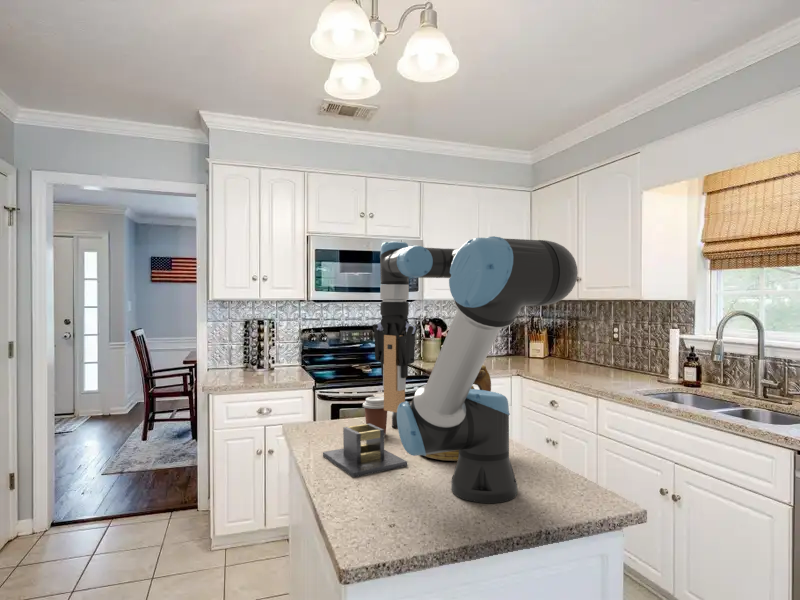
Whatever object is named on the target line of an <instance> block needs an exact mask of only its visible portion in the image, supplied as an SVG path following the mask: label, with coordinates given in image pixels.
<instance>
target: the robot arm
mask: <svg viewBox="0 0 800 600" xmlns="http://www.w3.org/2000/svg"><path fill="white" fill-rule="evenodd" d="M379 258H380V262H379V263H380V265H379V266H380V268H379V269H380V291H379V292H380V293H379V294H380V295H379V298H380V300H382V301H380V304H379V305H380V306H379V307H380V308H379V309H380V311H379V312H380V316H381V319H380V322H378V323H373V324H372V329H373V332H374V359H375V361H378V362H380V364H381V365H380V368H381V372H380V373H381V375H382V378H383V379H382V389H384V335H394V336H397V340H398V356H399V362H400V364H398V365H399V366H397V391H401V390H405V391H406V389H407V387H406V381H407V380H406V379H407V378H408V376H409V375H408V374H409V373H408V372H409V371H408V370H409V369H408V368H409V365H411V364H414V363H415V359H416V358H415V357H416V356H415V355H416V354H415V352H416V335H417V334H416V333H417V331H418V326H417V325H413V324H411V323H410V322H409V319H408V316H409V313H410V312H409V311H410V307H409V306H410V305H409V304H410V303H409V301H407V300H410V299H409V297H410V294H409V290H410V289H409V287H410V286H409V285H410V279H409V278H411V279H416V278H417V279H423V278H424V279H434V278H435V279H448V286H449V291H450V295H451V297H452V298H453V303H454V305H455V307H456V312H455V314H454V317H453V318H452V322H451V324H450V326H449V329H448V331H447V333H446V336H445V339H444V341H443V343H442V346H441V349H440V351H439V352H438V356H437V358H436V360H435V363H434V366H433V367H434V368H433V370H432V372H431V375H430V374H429V378H428V380H427V382H426V384H424V385H422V386H421V385H420V387H419V388H417V390H416V391H415V393H414V395H413V398H412V400H411V401H408V400H405V402H402V403H400V404H399V406H398V409H397V426H398V427H397V431H398V434H399V439H400V442H401V445H402V447H403V449H404V451H406V453H408V454H409V455H410V456H413V457H414V456H424V457H426V456H425V455H429V454H435V453H442V452H448V451H455V450H459V456H458V460H457V461H456V463H455V468H454V472H453V474H452V477H451V480H450V481H451V482H450V483H451V488H450V489H451V492H452V493H453V494H454V495H455V496H456V497H458V498H460V499H463V500H465V501H468V502H475V503H481V504H497V503H505V502H508V501H510V500H513V499H515V497H516V496H517V495H518V482H517V478H516V477H515V473H514V470H513V466H512V464H511V460H510V415H511V414H510V408H509V400H508V398H507V397H506V396H505V395H503V394H502V393H499V392H496V391H495V392H494V391H492V390H491V391H485V390H479V389H477V388H475V389H471V387H472V386H474V384H473V383H474V381H475V379H476V377H477V375H478V373H479V371H480V369H481V367H482V365H484V363H485V361H486V358H487V357H488V355H489V353H490V351H491V349H492V347H493V345H494V343H495V340H496V339H497V336H498V334H499V333H500V330H501V329H505V328H508V327H509V326H511V325H512V324H513V323H514V321H515V320H516V318H517V316H518V315H519V312H520V310H521V308H523V307H538V306H539V307H540V306H541V307H543V306H548V305H553V304H556V303H558V302H561V301H562V300H563V299H565V298H566V297H567V296H568V295H569V294H570V293H571V292H572V291H573V289H574V288H575V285H576V283H577V280H578V273H579V272H578V265H577V261H576V259H575V257H574V256H573V254H572V253H571V252H570V251H569V250H568V249H567V248H566V247H565V246H563V245H562V244H559V243H557V242H555V241H552V240H546V239H524V238H523V239H520V238H503V237H501V236H496V235H495V236H488V237H475V238H473V239H469V240H467V241H466V242H465V243H463V244H462V245H461V246H460V247H459V248H441V247H440V248H439V247H424V246H422V245H409V244H408V243H407V242H406V241H405V242H403V241H388V242H387V241H385V242H382V244H381V245H380V254H379ZM400 335H403V336H400Z"/></svg>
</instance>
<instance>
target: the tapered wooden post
mask: <svg viewBox="0 0 800 600" xmlns="http://www.w3.org/2000/svg"><path fill="white" fill-rule="evenodd" d="M400 336H403V335H400ZM398 364H400V362H399V356H398V340H397V336H394V335H384V388H383V397H384V410H385V411H387V412H391V413H392V412H397V409H398V406H399V404H400V403H402V402H405V401H406V389H405V390H401V391H397V366H399V365H398Z"/></svg>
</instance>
